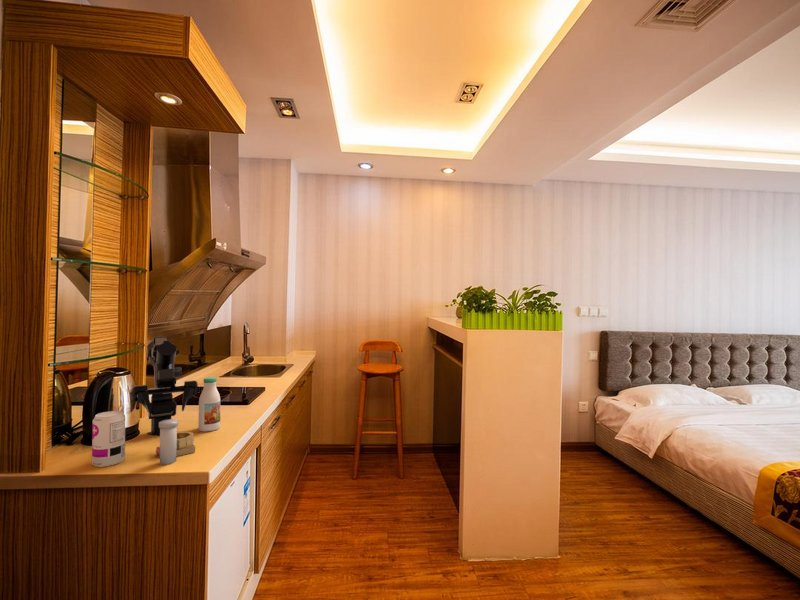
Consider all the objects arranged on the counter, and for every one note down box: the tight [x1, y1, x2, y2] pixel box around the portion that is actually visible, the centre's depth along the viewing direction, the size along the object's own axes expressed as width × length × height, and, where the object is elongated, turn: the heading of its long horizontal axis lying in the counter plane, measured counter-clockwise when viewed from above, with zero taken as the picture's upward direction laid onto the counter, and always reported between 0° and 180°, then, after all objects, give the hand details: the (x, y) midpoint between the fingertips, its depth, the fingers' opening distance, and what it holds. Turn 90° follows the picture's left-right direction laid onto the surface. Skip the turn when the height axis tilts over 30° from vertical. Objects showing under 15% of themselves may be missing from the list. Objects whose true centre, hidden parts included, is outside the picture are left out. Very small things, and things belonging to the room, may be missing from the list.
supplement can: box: [91, 410, 126, 467], centre depth 123 cm, size 8×8×15 cm
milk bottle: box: [197, 376, 221, 433], centre depth 156 cm, size 8×8×20 cm
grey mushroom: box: [159, 418, 179, 466], centre depth 124 cm, size 5×5×12 cm
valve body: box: [155, 431, 196, 457], centre depth 133 cm, size 14×11×5 cm
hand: (167, 412), depth 130 cm, fingers open, 9 cm apart
